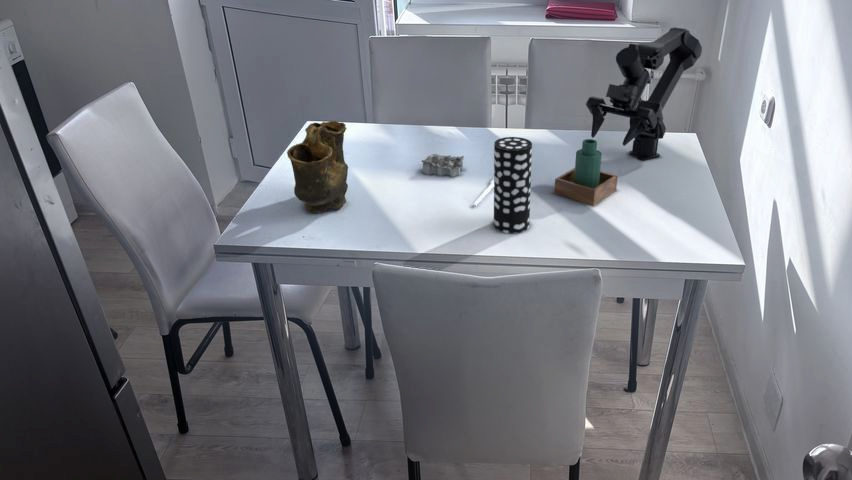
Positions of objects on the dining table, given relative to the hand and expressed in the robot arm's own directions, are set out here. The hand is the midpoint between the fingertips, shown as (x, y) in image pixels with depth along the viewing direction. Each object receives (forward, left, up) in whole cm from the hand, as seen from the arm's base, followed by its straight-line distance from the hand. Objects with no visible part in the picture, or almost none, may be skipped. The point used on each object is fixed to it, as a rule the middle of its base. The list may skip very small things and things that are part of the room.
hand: (607, 140), depth 181 cm
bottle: (+8, +4, -10) cm, 14 cm away
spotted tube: (+35, +12, -11) cm, 38 cm away
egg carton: (+36, -25, -11) cm, 45 cm away
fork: (+31, -7, -11) cm, 34 cm away
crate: (+9, +4, -11) cm, 15 cm away
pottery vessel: (+70, -19, -11) cm, 73 cm away
